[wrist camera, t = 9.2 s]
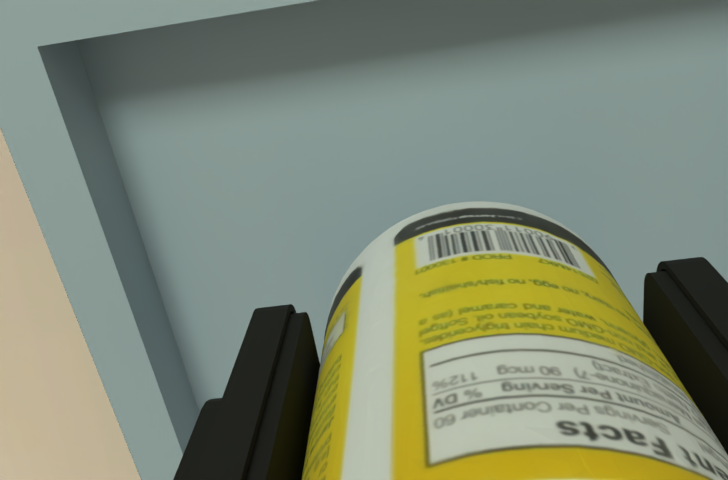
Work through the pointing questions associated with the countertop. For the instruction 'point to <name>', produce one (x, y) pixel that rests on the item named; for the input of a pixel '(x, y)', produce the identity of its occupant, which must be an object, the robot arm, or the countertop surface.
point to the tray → (338, 156)
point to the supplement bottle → (496, 362)
